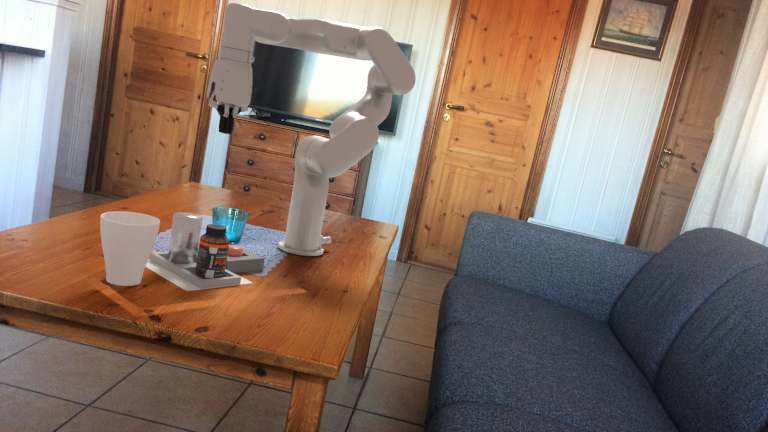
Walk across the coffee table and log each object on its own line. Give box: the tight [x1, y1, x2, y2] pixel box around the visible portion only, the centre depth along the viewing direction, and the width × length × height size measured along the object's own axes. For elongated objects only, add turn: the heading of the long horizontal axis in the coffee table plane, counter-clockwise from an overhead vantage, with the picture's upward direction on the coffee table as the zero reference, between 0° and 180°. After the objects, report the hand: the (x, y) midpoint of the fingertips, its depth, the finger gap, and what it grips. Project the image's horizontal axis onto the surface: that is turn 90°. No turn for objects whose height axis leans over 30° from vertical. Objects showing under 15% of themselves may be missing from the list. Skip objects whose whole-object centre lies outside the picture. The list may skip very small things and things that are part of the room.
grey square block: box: [225, 247, 266, 274], centre depth 141 cm, size 10×10×4 cm
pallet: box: [145, 251, 254, 292], centre depth 131 cm, size 16×20×3 cm
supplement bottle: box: [195, 223, 230, 279], centre depth 127 cm, size 6×6×11 cm
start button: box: [227, 244, 244, 257], centre depth 140 cm, size 4×4×3 cm
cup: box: [99, 210, 161, 290], centre depth 117 cm, size 10×10×14 cm
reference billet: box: [168, 211, 204, 264], centre depth 133 cm, size 6×6×11 cm
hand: (224, 132), depth 152 cm, fingers closed
